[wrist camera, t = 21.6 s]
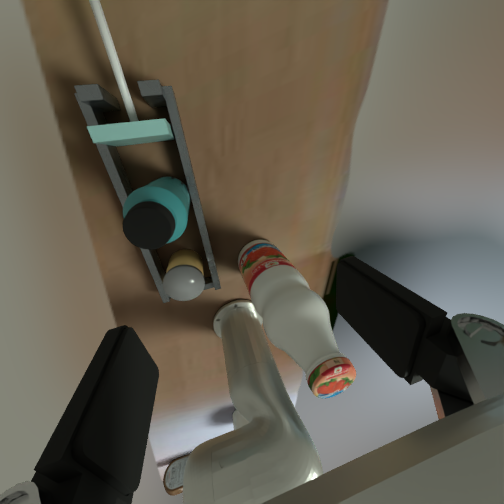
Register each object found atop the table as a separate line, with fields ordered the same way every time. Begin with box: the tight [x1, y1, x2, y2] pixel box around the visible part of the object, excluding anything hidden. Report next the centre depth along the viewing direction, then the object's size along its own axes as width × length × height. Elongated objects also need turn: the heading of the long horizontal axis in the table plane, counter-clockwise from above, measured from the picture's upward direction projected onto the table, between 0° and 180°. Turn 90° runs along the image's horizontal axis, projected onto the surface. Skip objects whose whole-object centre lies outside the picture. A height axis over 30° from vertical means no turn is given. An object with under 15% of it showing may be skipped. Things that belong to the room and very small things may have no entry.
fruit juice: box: [238, 240, 356, 398], centre depth 32 cm, size 9×9×28 cm
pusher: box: [87, 0, 175, 147], centre depth 23 cm, size 16×8×8 cm, turn 7°
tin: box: [163, 454, 190, 495], centre depth 67 cm, size 15×3×8 cm, turn 95°
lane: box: [74, 80, 221, 303], centre depth 33 cm, size 33×11×6 cm, turn 7°
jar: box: [163, 249, 205, 301], centre depth 37 cm, size 7×7×8 cm
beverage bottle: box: [123, 176, 191, 250], centre depth 25 cm, size 6×7×20 cm
